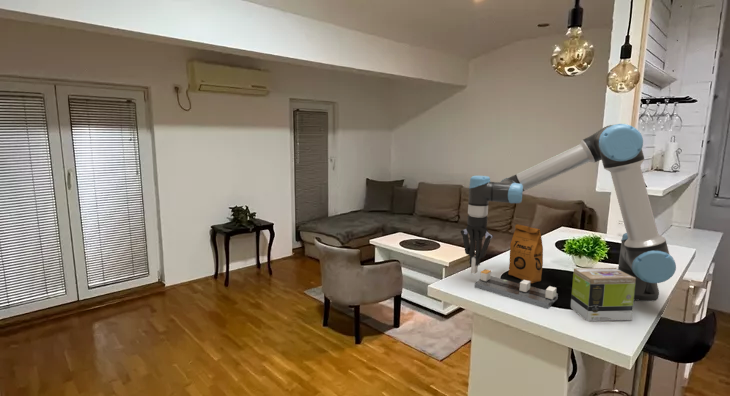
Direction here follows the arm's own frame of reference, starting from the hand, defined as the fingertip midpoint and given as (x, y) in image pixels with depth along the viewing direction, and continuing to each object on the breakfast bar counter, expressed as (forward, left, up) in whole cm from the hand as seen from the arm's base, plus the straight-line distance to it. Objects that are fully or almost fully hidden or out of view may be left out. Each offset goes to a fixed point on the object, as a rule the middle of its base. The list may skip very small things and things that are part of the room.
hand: (474, 272), depth 156 cm
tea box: (-44, -2, -4) cm, 44 cm away
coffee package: (-14, -18, -4) cm, 23 cm away
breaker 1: (-5, 0, -1) cm, 5 cm away
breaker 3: (-29, 0, -1) cm, 29 cm away
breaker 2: (-20, 0, -1) cm, 20 cm away
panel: (-17, 0, -4) cm, 17 cm away
